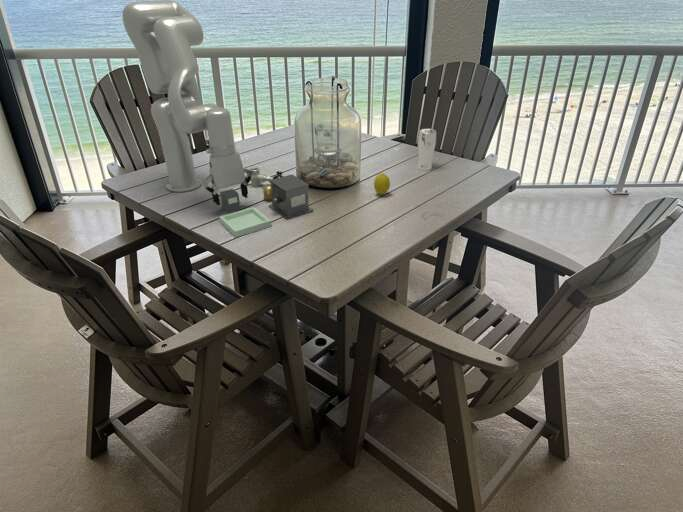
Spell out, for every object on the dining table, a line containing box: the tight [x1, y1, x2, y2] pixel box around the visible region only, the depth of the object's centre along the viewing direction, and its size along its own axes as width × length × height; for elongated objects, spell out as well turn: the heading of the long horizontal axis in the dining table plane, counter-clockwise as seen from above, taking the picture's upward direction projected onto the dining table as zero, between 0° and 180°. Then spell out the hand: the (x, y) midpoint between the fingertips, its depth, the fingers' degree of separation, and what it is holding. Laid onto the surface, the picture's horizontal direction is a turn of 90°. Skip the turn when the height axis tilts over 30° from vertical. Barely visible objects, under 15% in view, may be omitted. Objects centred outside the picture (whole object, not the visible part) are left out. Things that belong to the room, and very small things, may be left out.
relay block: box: [219, 188, 241, 214], centre depth 150 cm, size 5×4×6 cm
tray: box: [218, 206, 273, 238], centre depth 142 cm, size 12×12×2 cm
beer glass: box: [416, 128, 437, 171], centre depth 179 cm, size 7×7×15 cm
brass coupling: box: [262, 183, 272, 203], centre depth 157 cm, size 4×4×5 cm
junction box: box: [268, 174, 314, 220], centre depth 149 cm, size 12×11×10 cm
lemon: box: [373, 172, 391, 196], centre depth 159 cm, size 6×6×8 cm
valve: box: [249, 166, 284, 188], centre depth 166 cm, size 7×7×12 cm
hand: (231, 200), depth 150 cm, fingers open, 9 cm apart
